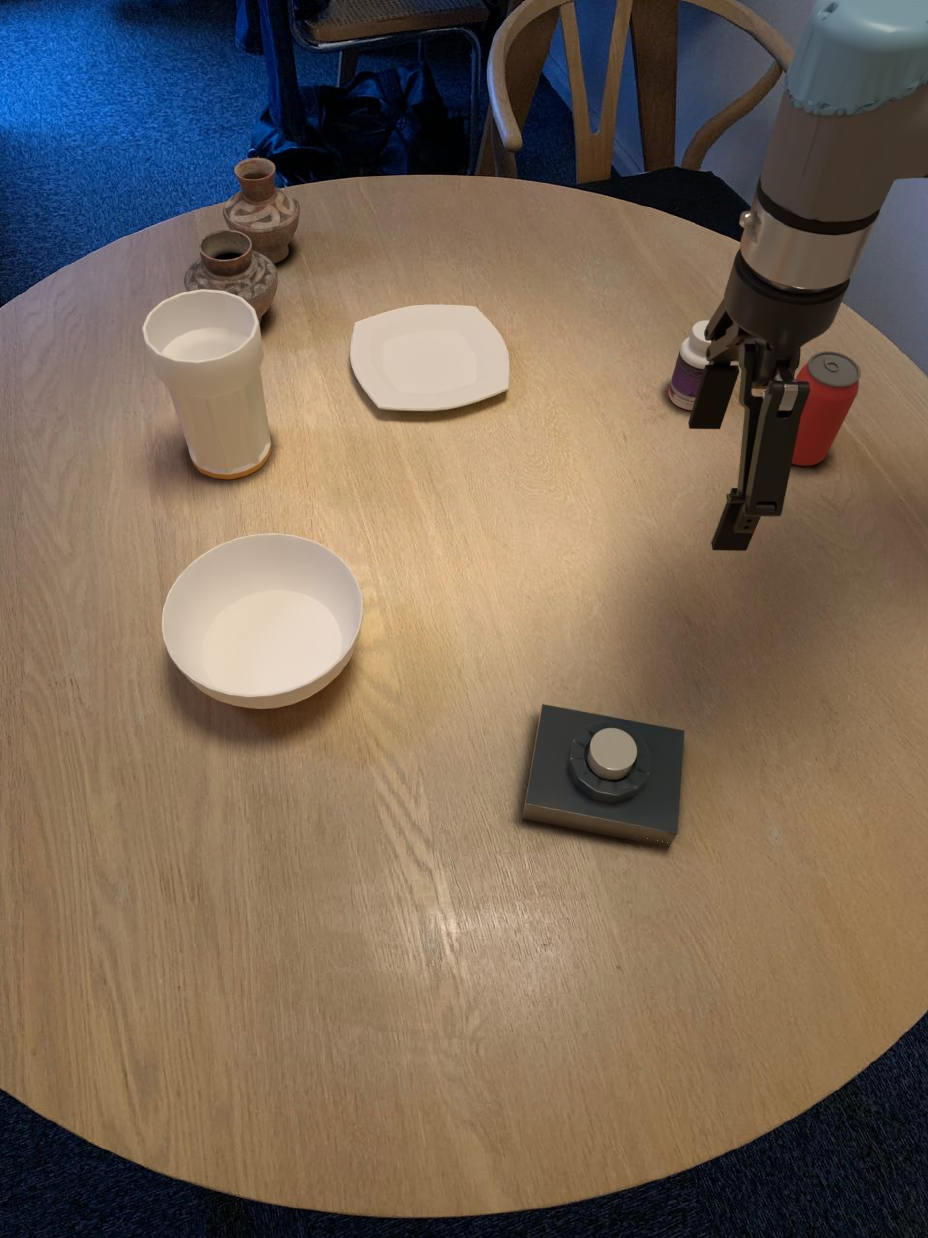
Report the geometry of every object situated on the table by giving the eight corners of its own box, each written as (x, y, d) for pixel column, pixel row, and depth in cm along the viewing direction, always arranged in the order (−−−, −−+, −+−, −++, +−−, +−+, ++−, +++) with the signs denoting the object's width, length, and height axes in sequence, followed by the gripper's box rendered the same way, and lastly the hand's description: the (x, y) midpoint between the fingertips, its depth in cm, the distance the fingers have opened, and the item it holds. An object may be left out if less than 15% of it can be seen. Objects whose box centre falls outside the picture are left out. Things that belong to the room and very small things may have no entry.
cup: (163, 474, 104) (120, 348, 89) (206, 406, 110) (172, 279, 96) (258, 497, 102) (230, 373, 88) (296, 427, 109) (276, 300, 94)
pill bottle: (702, 417, 112) (723, 352, 104) (660, 401, 113) (678, 335, 105) (718, 391, 114) (740, 326, 106) (677, 375, 116) (696, 309, 108)
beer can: (812, 425, 112) (849, 343, 102) (835, 464, 108) (876, 384, 98) (760, 432, 111) (793, 350, 101) (783, 472, 107) (819, 392, 97)
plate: (526, 408, 112) (527, 395, 110) (367, 432, 108) (366, 419, 107) (485, 308, 122) (486, 295, 120) (339, 327, 119) (337, 314, 117)
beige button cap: (634, 743, 82) (639, 732, 80) (630, 784, 79) (635, 774, 78) (589, 734, 82) (592, 723, 80) (584, 775, 80) (587, 765, 78)
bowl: (406, 656, 91) (405, 614, 85) (255, 773, 84) (242, 736, 78) (289, 548, 98) (280, 503, 92) (141, 648, 91) (120, 605, 85)
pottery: (315, 235, 130) (306, 151, 120) (272, 353, 116) (258, 269, 106) (235, 227, 130) (220, 142, 120) (183, 343, 116) (160, 258, 106)
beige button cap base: (676, 746, 87) (689, 720, 83) (669, 847, 81) (682, 825, 77) (538, 720, 88) (544, 694, 84) (522, 818, 82) (527, 795, 78)
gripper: (709, 155, 68) (654, 381, 85) (773, 391, 54) (691, 604, 71) (811, 157, 68) (735, 382, 85) (902, 393, 54) (789, 605, 71)
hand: (715, 483), depth 78 cm, fingers open, 13 cm apart
